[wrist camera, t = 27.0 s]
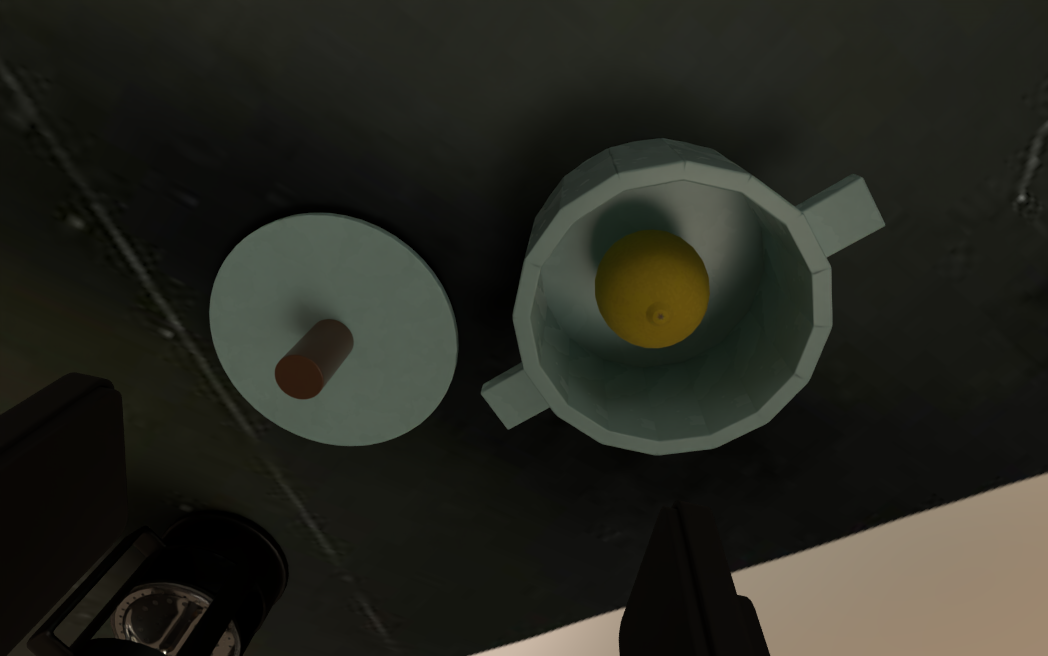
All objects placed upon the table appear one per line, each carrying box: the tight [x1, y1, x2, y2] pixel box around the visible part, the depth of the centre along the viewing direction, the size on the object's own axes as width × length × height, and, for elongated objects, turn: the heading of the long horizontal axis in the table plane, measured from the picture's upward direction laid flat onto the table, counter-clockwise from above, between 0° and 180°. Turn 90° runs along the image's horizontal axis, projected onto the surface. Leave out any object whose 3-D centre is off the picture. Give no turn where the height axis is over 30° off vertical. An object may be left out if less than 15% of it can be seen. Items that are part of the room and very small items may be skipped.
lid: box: [209, 213, 458, 446], centre depth 36 cm, size 15×15×6 cm
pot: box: [481, 138, 885, 455], centre depth 32 cm, size 14×19×8 cm
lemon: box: [595, 229, 710, 348], centre depth 32 cm, size 6×6×8 cm
